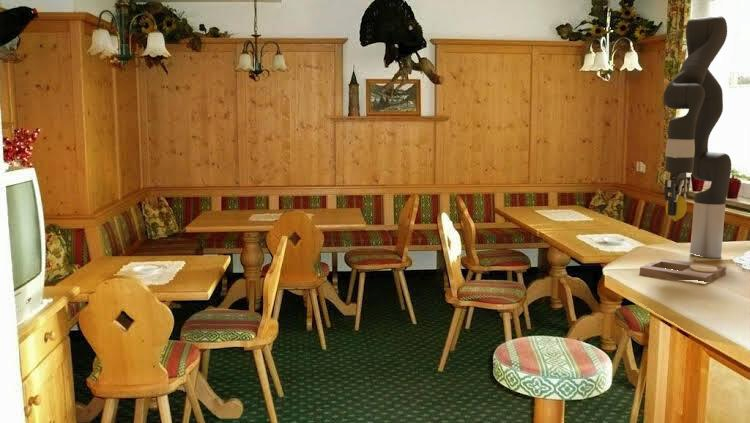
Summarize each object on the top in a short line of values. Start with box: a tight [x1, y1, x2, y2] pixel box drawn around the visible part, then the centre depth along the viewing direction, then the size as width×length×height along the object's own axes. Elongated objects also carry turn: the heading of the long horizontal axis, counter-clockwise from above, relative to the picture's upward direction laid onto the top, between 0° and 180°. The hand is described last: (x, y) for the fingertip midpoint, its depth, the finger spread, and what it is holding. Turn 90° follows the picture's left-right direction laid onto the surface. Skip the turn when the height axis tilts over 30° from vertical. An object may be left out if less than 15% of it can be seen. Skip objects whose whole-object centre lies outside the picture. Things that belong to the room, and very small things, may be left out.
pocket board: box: [639, 257, 727, 283], centre depth 214 cm, size 18×18×2 cm
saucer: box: [690, 263, 717, 272], centre depth 211 cm, size 7×7×1 cm
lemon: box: [665, 195, 688, 222], centre depth 213 cm, size 6×6×8 cm
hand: (675, 213), depth 213 cm, fingers closed on lemon, 5 cm apart
